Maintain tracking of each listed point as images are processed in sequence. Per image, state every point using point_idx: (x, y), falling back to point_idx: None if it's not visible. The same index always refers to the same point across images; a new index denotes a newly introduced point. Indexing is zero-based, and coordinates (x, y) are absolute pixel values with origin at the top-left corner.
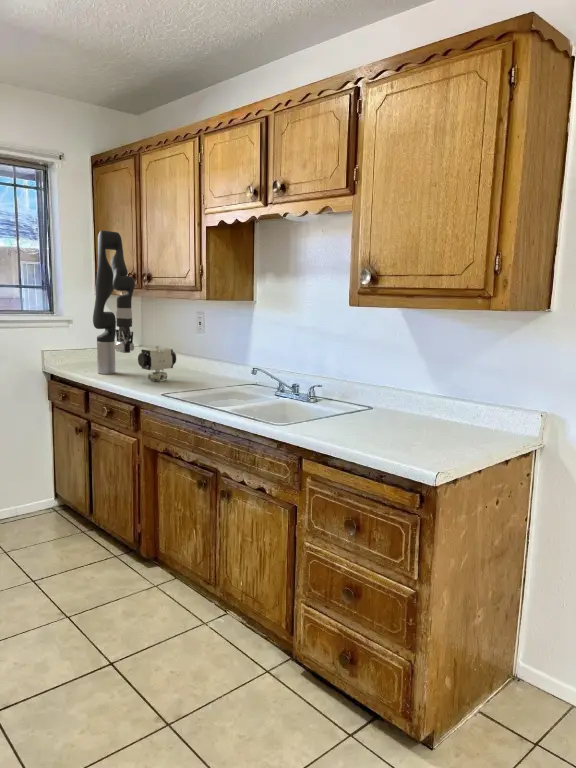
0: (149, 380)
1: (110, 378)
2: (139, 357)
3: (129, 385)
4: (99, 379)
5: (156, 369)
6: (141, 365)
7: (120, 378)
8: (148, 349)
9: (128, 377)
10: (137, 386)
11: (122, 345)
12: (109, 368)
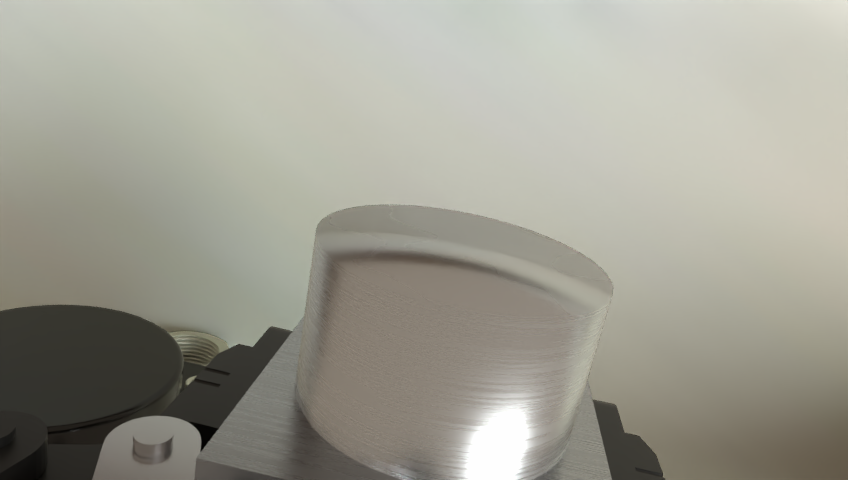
0: (201, 334)
1: (734, 201)
2: (82, 390)
3: (143, 21)
4: (788, 50)
5: None
6: (97, 315)
7: (635, 280)
8: None
9: (620, 385)
10: (33, 42)
11: (304, 362)
12: None
